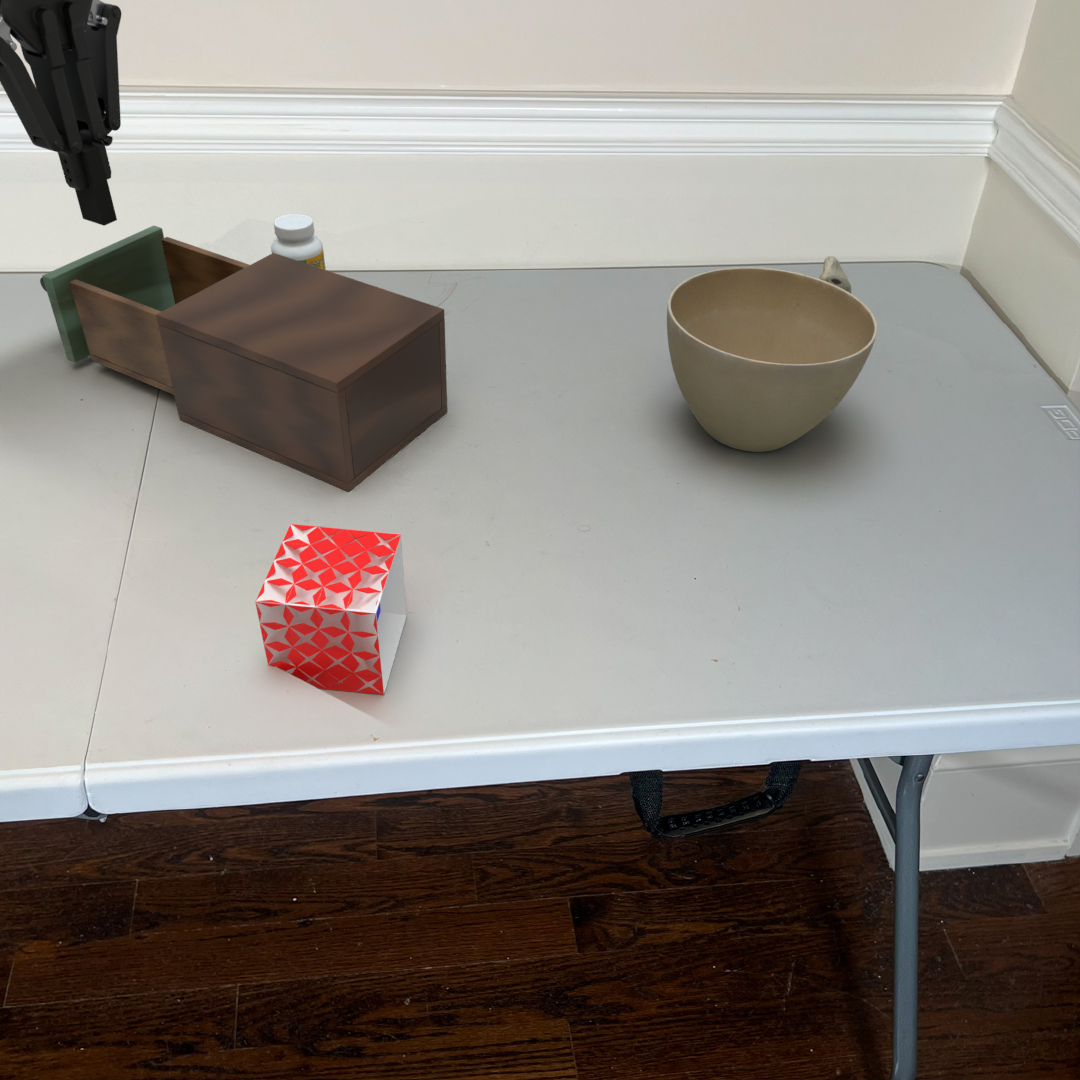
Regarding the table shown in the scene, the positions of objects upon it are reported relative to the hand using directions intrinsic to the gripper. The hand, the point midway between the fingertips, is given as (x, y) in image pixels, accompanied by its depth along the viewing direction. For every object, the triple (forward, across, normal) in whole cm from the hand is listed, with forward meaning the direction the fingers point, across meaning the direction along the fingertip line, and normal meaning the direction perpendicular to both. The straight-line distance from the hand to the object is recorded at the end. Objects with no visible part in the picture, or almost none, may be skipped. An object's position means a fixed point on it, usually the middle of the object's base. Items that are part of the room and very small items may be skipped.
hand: (100, 219), depth 93 cm
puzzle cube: (+15, -20, -42) cm, 48 cm away
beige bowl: (+16, +23, -56) cm, 62 cm away
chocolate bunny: (+16, +42, -56) cm, 72 cm away
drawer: (+14, +3, -2) cm, 14 cm away
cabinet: (+15, +2, -21) cm, 26 cm away
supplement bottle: (+15, +18, -6) cm, 25 cm away
